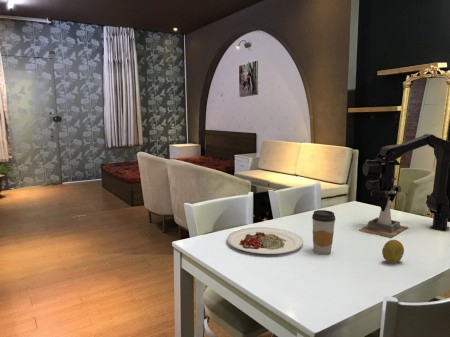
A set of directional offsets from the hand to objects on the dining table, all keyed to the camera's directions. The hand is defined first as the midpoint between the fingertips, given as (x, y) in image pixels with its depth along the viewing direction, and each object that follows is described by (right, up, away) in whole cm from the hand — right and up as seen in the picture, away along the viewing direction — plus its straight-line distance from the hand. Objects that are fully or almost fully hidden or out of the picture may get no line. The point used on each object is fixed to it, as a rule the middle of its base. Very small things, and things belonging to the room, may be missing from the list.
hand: (385, 209), depth 159 cm
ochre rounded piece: (-13, -14, -35) cm, 40 cm away
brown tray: (0, -9, +1) cm, 9 cm away
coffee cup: (-35, -13, -26) cm, 45 cm away
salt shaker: (0, -9, +1) cm, 9 cm away
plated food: (-55, -12, -16) cm, 59 cm away
